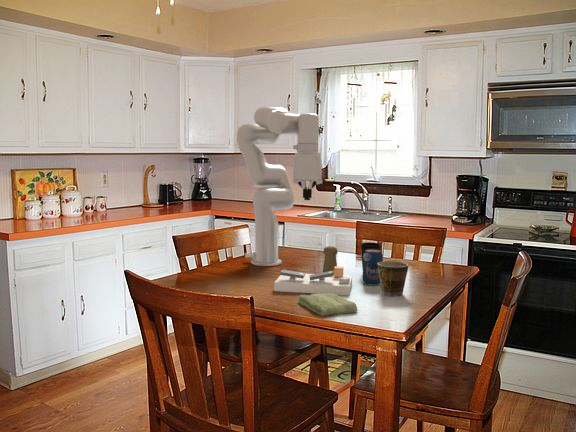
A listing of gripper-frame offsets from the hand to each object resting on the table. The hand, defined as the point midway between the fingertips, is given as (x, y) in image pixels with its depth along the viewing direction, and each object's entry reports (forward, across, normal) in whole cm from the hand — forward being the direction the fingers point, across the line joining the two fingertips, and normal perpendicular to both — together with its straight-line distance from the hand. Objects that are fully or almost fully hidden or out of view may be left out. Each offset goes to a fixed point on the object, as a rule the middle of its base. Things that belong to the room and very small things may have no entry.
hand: (307, 199), depth 198 cm
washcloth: (+30, +11, -34) cm, 47 cm away
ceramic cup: (+29, +30, -16) cm, 45 cm away
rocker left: (+24, -2, -16) cm, 29 cm away
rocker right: (+24, +8, -16) cm, 29 cm away
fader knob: (+26, +12, -8) cm, 29 cm away
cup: (+29, +23, +11) cm, 39 cm away
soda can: (+29, +24, -2) cm, 38 cm away
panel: (+29, +4, -12) cm, 32 cm away
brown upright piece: (+29, +8, +8) cm, 31 cm away
